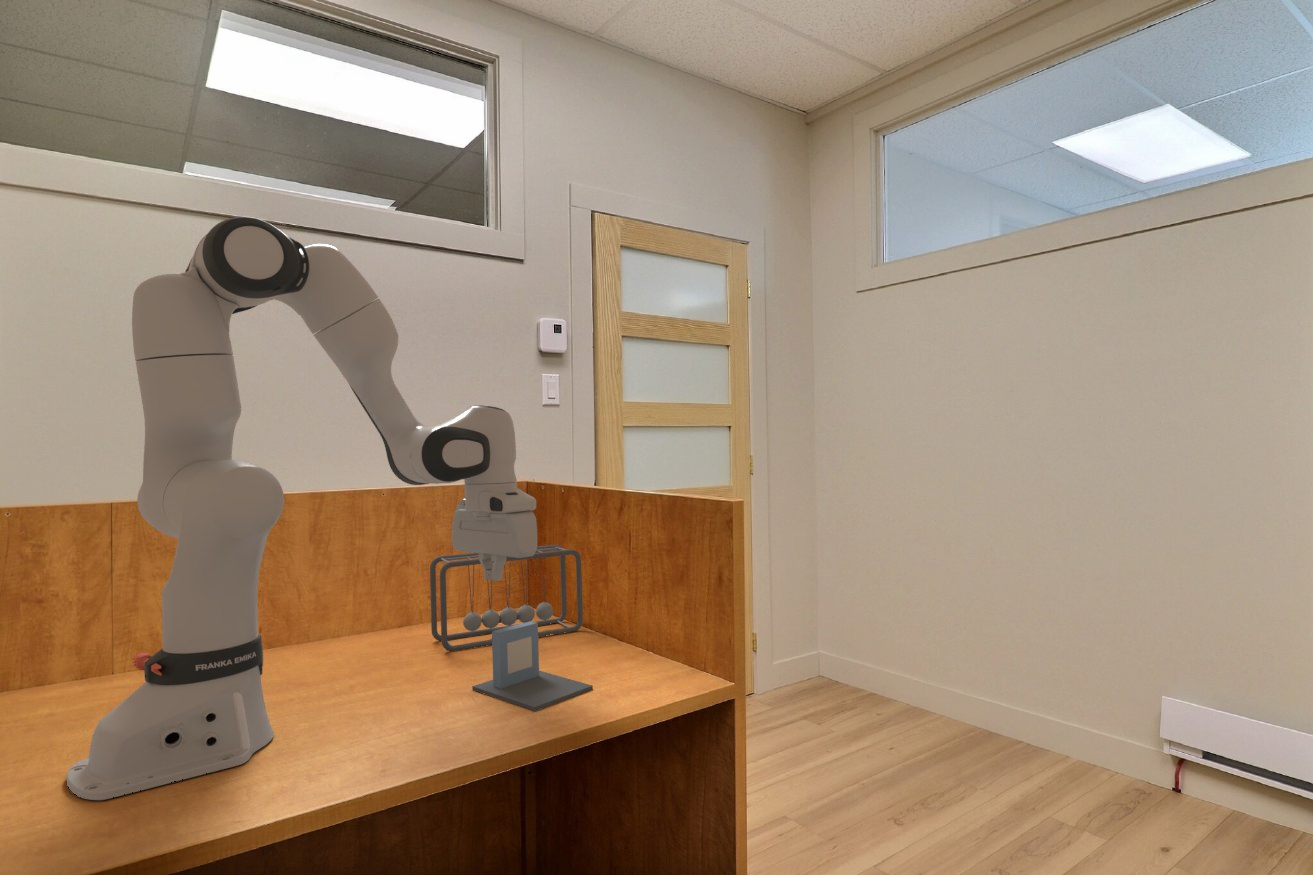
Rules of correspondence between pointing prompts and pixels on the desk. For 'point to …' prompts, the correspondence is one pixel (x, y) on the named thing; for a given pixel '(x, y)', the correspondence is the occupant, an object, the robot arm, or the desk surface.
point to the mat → (536, 691)
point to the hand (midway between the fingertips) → (493, 580)
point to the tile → (515, 654)
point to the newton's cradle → (507, 614)
